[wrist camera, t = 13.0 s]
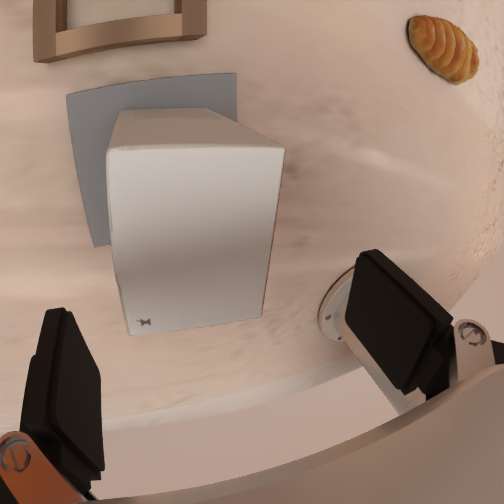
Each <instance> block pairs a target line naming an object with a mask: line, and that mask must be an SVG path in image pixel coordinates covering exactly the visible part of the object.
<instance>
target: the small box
mask: <svg viewBox="0 0 504 504" xmlns="http://www.w3.org/2000/svg"><path fill="white" fill-rule="evenodd" d="M285 151H286V149H285V148H284V147H283V146H281V145H280V144H278V143H276V142H274V141H272V140H271V139H269V138H266V137H264V136H262V135H260V134H259V133H257V132H255V131H253V130H251V129H249V128H247V127H245V126H243V125H241V124H239V123H237V122H235V121H233V120H231V119H228V118H227V117H225V116H222V115H220V114H218V113H216V112H214V111H211V110H209V109H207V108H150V109H128V110H121V111H120V112H119V115H118V118H117V121H116V124H115V126H114V130H113V133H112V136H111V139H110V141H109V145H108V149H107V152H106V182H107V200H108V214H109V226H110V237H111V247H112V257H113V265H114V271H115V278H116V282H117V285H118V290H119V294H120V300H121V305H122V310H123V315H124V320H125V324H126V328H127V333H128V335H129V336H134V335H145V334H155V333H164V332H172V331H180V330H187V329H194V328H201V327H207V326H214V325H219V324H225V323H232V322H237V321H243V320H247V319H253V318H259V317H261V315H262V310H263V304H264V297H265V290H266V284H267V277H268V271H269V264H270V256H271V249H272V244H273V236H274V230H275V223H276V216H277V208H278V201H279V194H280V187H281V180H282V172H283V165H284V157H285Z"/></svg>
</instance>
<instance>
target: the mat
mask: <svg viewBox="0 0 504 504" xmlns="http://www.w3.org/2000/svg"><path fill="white" fill-rule="evenodd" d="M66 102H67V111H68V119H69V127H70V134H71V141H72V147H73V153H74V159H75V165H76V170H77V176H78V181H79V186H80V190H81V195H82V200H83V204H84V209H85V213H86V217H87V221H88V225H89V229H90V233H91V237H92V241H93V245H94V247H99V246H104V245H109V244H111V237H110V226H109V214H108V200H107V182H106V152H107V149H108V145H109V141H110V139H111V136H112V133H113V130H114V126H115V124H116V121H117V118H118V115H119V112H120V111H121V110H128V109H150V108H207V109H209V110H211V111H214V112H216V113H218V114H220V115H222V116H225V117H227V118H228V119H231V120H233V121H235V122H236V73H225V74H205V75H191V76H179V77H169V78H160V79H151V80H144V81H137V82H130V83H124V84H118V85H112V86H106V87H101V88H96V89H91V90H86V91H82V92H77V93H73V94H69V95H66Z"/></svg>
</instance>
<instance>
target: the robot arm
mask: <svg viewBox="0 0 504 504" xmlns="http://www.w3.org/2000/svg"><path fill="white" fill-rule="evenodd" d="M452 320H453V317H452V316H451V315H450V314H449V313H448V312H447V311H446V310H445V309H444V308H443V307H442V306H441V305H440V304H439V303H437V302H436V301H435V300H434V299H433V298H432V297H431V296H430V295H429V294H428V293H427V292H426V291H425V290H423V287H422V286H421V285H418V284H417V283H416V282H415V281H414V280H412V279H411V278H410V277H409V276H408V275H407V274H406V273H405V272H403V271H402V270H401V269H400V268H399V267H398V266H397V265H395V264H394V263H393V262H392V261H391V260H390V259H389V258H387V257H386V256H385V255H384V254H383V253H382V252H380V251H379V250H378V249H373V250H368V251H363V252H361V253H360V255H359V257H358V258H357V259H356V263H355V268H353V269H351V270H350V271H349V272H347V273H346V274H345V275H344V276H342V278H341V279H340V280H339V281H338V282H337V283H336V284H335V285H334V286H333V287H332V289H331V290H330V291H329V292H328V294H327V296H326V297H325V299H324V301H323V303H322V306H321V308H320V312H319V316H318V323H319V327H320V329H321V331H322V332H323V334H324V335H325V336H326V337H327V338H328V339H330V340H332V341H336V342H346V344H347V345H348V346H349V348H350V349H351V350H352V352H353V353H354V354H355V356H356V357H357V358H358V360H359V361H360V362H361V364H362V365H363V366H364V368H365V369H366V370H367V372H368V373H369V374H370V375H371V377H372V378H373V380H374V381H375V382H376V384H377V385H378V387H379V388H380V389H381V391H382V392H383V393H384V395H385V396H386V397H387V399H388V400H389V402H390V403H391V404H392V406H393V407H394V408H395V410H396V411H397V413H398V414H399V415H400V416H398V417H396V418H395V419H392V420H390V421H388V422H386V423H384V424H382V425H381V426H378V427H376V428H374V429H372V430H370V431H368V432H365V433H363V434H361V435H359V436H357V437H354V438H352V439H350V440H347V441H345V442H343V443H340V444H338V445H336V446H333V447H331V448H328V449H325V450H323V451H320V452H318V453H315V454H313V455H310V456H307V457H304V458H301V459H298V460H295V461H292V462H290V463H286V464H283V465H280V466H277V467H274V468H271V469H267V470H264V471H261V472H257V473H254V474H250V475H246V476H242V477H239V478H235V479H231V480H227V481H222V482H218V483H213V484H209V485H204V486H199V487H194V488H189V489H182V490H177V491H170V492H164V493H158V494H151V495H143V496H134V497H124V498H114V499H104V500H99V499H98V498H97V497H96V496H95V495H94V494H93V493H92V492H91V491H90V489H91V482H90V481H91V480H92V481H93V480H101V473H100V471H104V470H105V462H104V451H103V437H102V417H101V377H100V372H99V369H98V367H97V365H96V363H95V361H94V359H93V357H92V355H91V353H90V351H89V349H88V347H87V345H86V343H85V341H84V338H83V336H82V334H81V332H80V330H79V327H78V325H77V323H76V321H75V318H74V316H73V314H72V312H71V311H68V312H67V311H66V309H65V308H63V307H62V308H55V309H49V310H47V311H46V313H45V316H44V320H43V324H42V328H41V332H40V337H39V341H38V345H37V350H36V355H33V357H32V358H31V361H30V365H29V370H28V376H27V381H26V387H25V393H24V399H23V406H22V413H21V421H20V430H19V431H12V432H8V433H6V434H4V435H3V436H2V437H1V438H0V504H504V343H500V342H496V341H492V340H490V336H489V333H488V331H487V330H486V329H485V327H484V326H482V325H481V324H480V323H478V322H476V321H474V320H470V319H462V320H459V321H458V322H456V324H455V326H454V327H453V326H452V325H451V322H452Z"/></svg>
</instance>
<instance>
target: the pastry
mask: <svg viewBox="0 0 504 504" xmlns="http://www.w3.org/2000/svg"><path fill="white" fill-rule="evenodd" d="M409 40H410V44H411V45H412V47H413V48H414V49H415V50H416V51H417V52H418V53H419V55H420V56H421V58H422V59H423V61H424V63H425V64H426V66H427V67H429V68H431V69H432V70H433V71H434V72H436V73H437V74H438V75H440V76H442V77H443V78H445V79H447V80H448V81H450V82H451V83H452V84H454V85H459V84H460V83H462V82H466V81H467V80H468V79H471V78H473V77H474V76H475V74H476V72H477V70H478V66H479V57H478V54H477V52H478V50H477V48H476V47H475V45H474V43H473V42H472V41H471V40H470V39H469V38H468V37H467V36H466V34H465V33H464V32H463V31H462V30H461V29H460V28H459V27H457V26H455V25H453V24H452V23H451V22H449V21H448V20H445V19H441V18H437V17H430V16H426V15H422V16H418V17H413V18H411V19H410V24H409Z"/></svg>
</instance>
